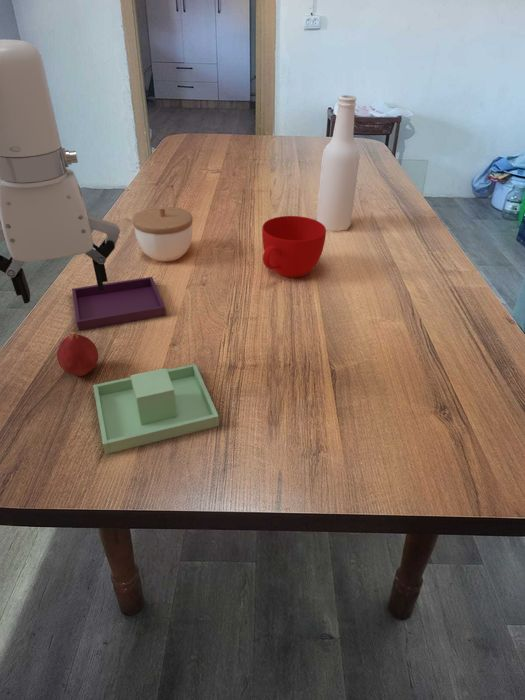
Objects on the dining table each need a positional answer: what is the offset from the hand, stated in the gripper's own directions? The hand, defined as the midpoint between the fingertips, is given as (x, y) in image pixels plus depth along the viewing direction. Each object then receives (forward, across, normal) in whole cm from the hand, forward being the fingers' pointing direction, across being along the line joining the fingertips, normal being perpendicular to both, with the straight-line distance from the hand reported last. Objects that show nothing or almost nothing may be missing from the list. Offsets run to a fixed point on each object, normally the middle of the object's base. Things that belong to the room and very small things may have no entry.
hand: (64, 292), depth 68 cm
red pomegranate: (+15, +1, 0) cm, 15 cm away
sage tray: (+15, -8, +12) cm, 21 cm away
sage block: (+14, -8, +12) cm, 20 cm away
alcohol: (+16, -64, -41) cm, 78 cm away
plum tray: (+15, -7, -18) cm, 24 cm away
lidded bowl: (+15, -20, -37) cm, 45 cm away
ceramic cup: (+15, -42, -20) cm, 49 cm away
